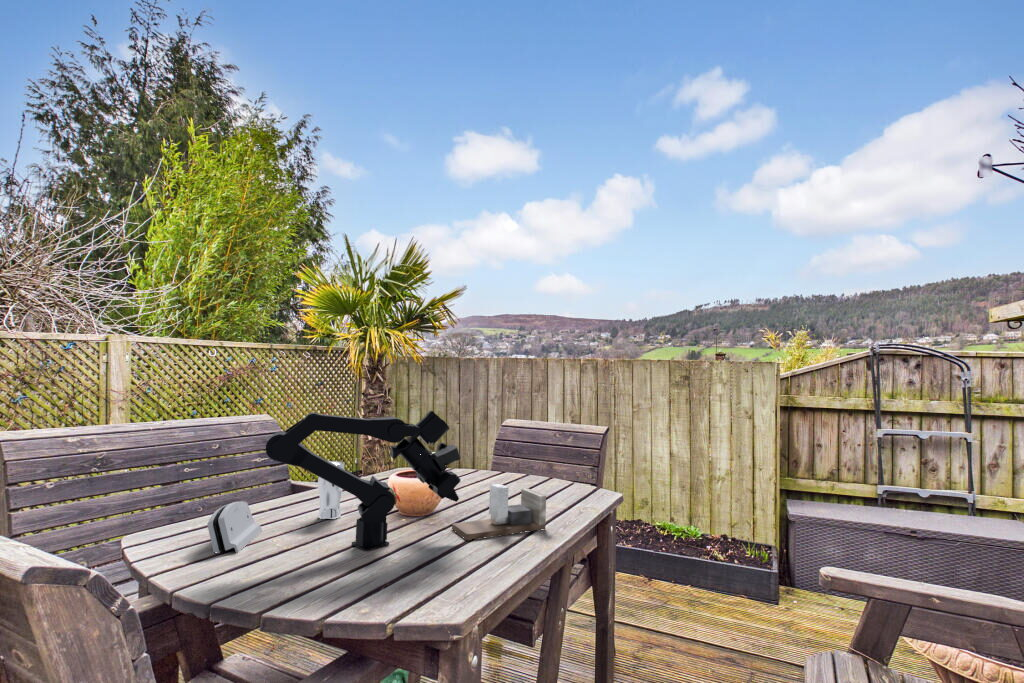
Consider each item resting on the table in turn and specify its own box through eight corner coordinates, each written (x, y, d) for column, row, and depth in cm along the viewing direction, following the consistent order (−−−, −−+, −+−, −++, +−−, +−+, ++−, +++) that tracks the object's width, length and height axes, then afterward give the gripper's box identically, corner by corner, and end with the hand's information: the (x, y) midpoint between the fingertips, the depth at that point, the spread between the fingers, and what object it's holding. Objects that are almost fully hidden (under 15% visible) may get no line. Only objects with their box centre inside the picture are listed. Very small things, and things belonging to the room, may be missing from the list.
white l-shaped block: (497, 526, 133) (498, 488, 133) (488, 521, 137) (490, 484, 138) (530, 521, 137) (531, 485, 138) (521, 517, 142) (522, 481, 143)
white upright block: (337, 521, 139) (339, 465, 140) (311, 520, 139) (315, 464, 140) (345, 514, 146) (348, 461, 147) (321, 513, 146) (324, 460, 147)
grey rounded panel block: (238, 553, 112) (224, 510, 113) (215, 561, 112) (202, 517, 112) (262, 530, 129) (250, 492, 129) (243, 537, 128) (231, 499, 128)
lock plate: (466, 540, 126) (468, 503, 126) (451, 529, 135) (453, 494, 135) (545, 529, 137) (546, 495, 137) (526, 520, 146) (527, 488, 146)
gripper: (455, 440, 121) (494, 485, 125) (431, 429, 137) (466, 469, 142) (420, 475, 117) (461, 520, 121) (400, 459, 133) (437, 499, 138)
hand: (457, 500), depth 131 cm, fingers closed
